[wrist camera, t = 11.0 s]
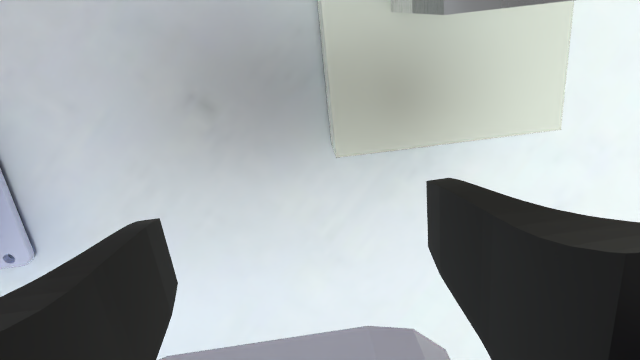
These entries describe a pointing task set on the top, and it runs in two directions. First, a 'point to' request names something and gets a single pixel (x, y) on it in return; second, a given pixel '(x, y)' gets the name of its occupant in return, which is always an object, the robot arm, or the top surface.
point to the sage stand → (441, 74)
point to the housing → (458, 5)
